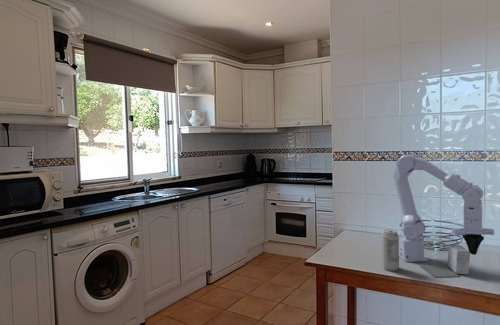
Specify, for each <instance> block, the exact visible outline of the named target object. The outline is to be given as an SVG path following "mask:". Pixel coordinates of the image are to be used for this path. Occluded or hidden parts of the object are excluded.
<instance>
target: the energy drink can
mask: <svg viewBox="0 0 500 325" xmlns="http://www.w3.org/2000/svg"><path fill="white" fill-rule="evenodd" d="M399 239H400V235H399V234H398V231H397V230H394V229H384V230H383V232H382V234H381V250H382V251H381V252H382V253H381V255H382V260H381V261H382V267H383V268H384V270H386V271H390V272H396V271H398V269H399V268H400V257H399Z"/></svg>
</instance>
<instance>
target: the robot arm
mask: <svg viewBox="0 0 500 325" xmlns="http://www.w3.org/2000/svg"><path fill="white" fill-rule="evenodd" d="M394 168H395V169H394V172H393V174H392V175H393V180H394V183H395V188H396V191H397V195H398V199H399V203H400V207H401V210H402V214H403V218H402V224H403V226H402V227H403V228H402V233H403V235H404V237H399V259H401V260H403V261H404V262H406V263H407V262H408V263H409V262H411V263H412V262H429V259H428V258H426V257H425V237H424V233H425V231H426V226H425V223H424V222H423V221H422V219H421V216H420V215H419V214H418V212H417V208H416V204H415V201H414V196H413V193H412V190H411V186H410V182H409V176H410V175H411V173H412V172H413V171H424V172H426V173H428V174H429V175H431V176H433V177H435V178H437V179H439V180H440V181H442V184H443V186H444V187H445V188H448V190H450V191H452V192H454V193H456V195H459V196H461V198H462V199H463V227H462V228H457V229H451V235H452V236H454V237H459V236H461V237H462V238H463V240H464V241H465V244H466V246H467V250H468V251H469V252H470V255H474V256H475V255H477V253H478V250H479V248H480V245H481V243H482V242H483V241H484V239H485V237H484V236H485V235H491V236H495V229H492V228H486V227H485V228H483V202H482V201H483V199H482V198H483V197H484V191H483V190H482V188H481V187H480V186H478V185H474V183H472V181H471V182H469V181H466V180H465V179H463V178H461V176H462V175H460V174H456V173H450V174H449V173H447V172H446V171H444V170H442V169H441V168H439V167H437V166H436V165H435V164H433V163H432V162H430V161H428V160H427V159H425V158H424V157H421V156H419V155H418V154H416V153H411V154H406V155H405V154H404V155H402V156H400V157H399V158H398V159H397V160H396V162H395V167H394Z"/></svg>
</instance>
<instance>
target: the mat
mask: <svg viewBox="0 0 500 325" xmlns="http://www.w3.org/2000/svg"><path fill="white" fill-rule="evenodd" d="M419 267H420V268H422V269H423V270H424V271H425V272H427V274H429V275H431V276H432V277H433V278H434V279H435V278H460V277H461V276H460V274H457V273H455V272H454V271H453V270H452V269H451V268H448V266H445V265H444V264H425V265H424V264H423V265H420V264H419Z"/></svg>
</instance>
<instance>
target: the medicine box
mask: <svg viewBox="0 0 500 325" xmlns="http://www.w3.org/2000/svg"><path fill="white" fill-rule="evenodd" d="M447 254H448V256H447V267H449V269H450V270H451V271H453V272H454V273H456V274H458V275H469V273H470V260H471V258H470V257H471V254H470V252H469V249H466V248H465V247H464V246H462V245H460V244H459V245H458V244H448V253H447Z"/></svg>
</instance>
